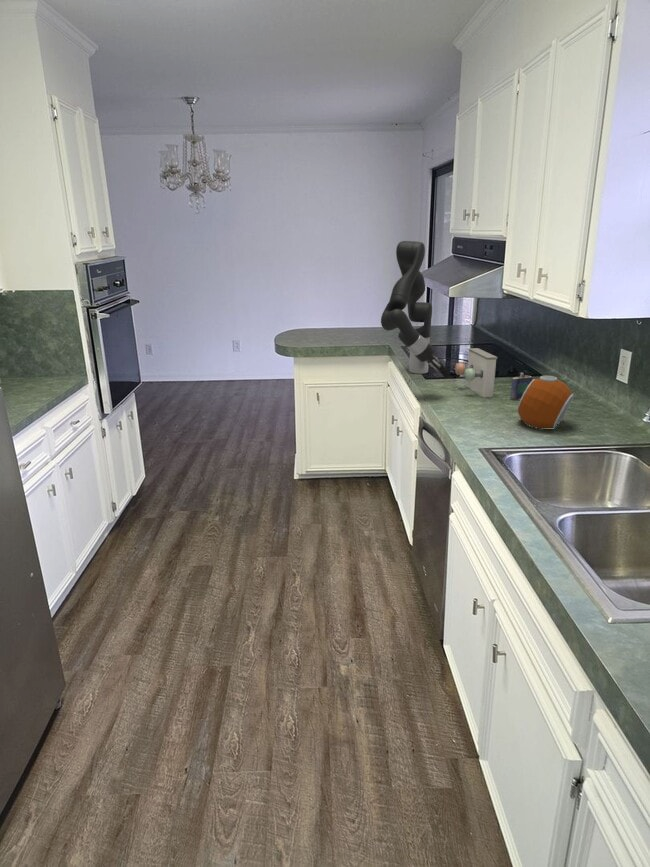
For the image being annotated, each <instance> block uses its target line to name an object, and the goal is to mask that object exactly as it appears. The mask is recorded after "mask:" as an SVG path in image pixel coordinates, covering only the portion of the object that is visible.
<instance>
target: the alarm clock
mask: <svg viewBox="0 0 650 867" xmlns="http://www.w3.org/2000/svg"><path fill="white" fill-rule="evenodd" d="M573 399H574V394H573V393H572V390H571V389H570V387H568V385H566V383H565V382H563V381H561V380H559V379H558V377H557V376H555V375H541V376H540V377H539V378H534V379H533V378H532V381H531V382H530V384H529V385H528V387H527V388H526V390H525V392H524V393H523V395H522V397H521V399H519V402H518V405H517V408H516V412H517V413H518V415H519V417H520V419H521V420H522V421H523V422H524V424H527V425H526V426H528V425H530V426H532V427H531V428H533V427H537V428H555V427H556V425H557V424H558V423H559V422H560V421H561V422H562V421H563V419H564V418H565V416H566V414H567V412H568V410H569V408H570V407H571V404H572V401H573ZM530 426H529V427H530ZM537 428H536V429H537ZM556 428H557V427H556ZM556 428H555V429H556Z"/></svg>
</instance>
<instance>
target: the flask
mask: <svg viewBox="0 0 650 867" xmlns="http://www.w3.org/2000/svg"><path fill="white" fill-rule="evenodd" d="M519 374H520V375H519V376H515V377H511V385H510V386H511V389H510V396H509V398H510V400H512V399H513V400H514V399H517V400H520V399H519V398H521V397H522V395H523V393H524V392H525V390H526V388H527V387H528V385H529V384H530V382H531V381H532V380H533V377H532V376H531V375H528V374H527V375H526V374H525V375H524V372H520V373H519Z"/></svg>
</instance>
